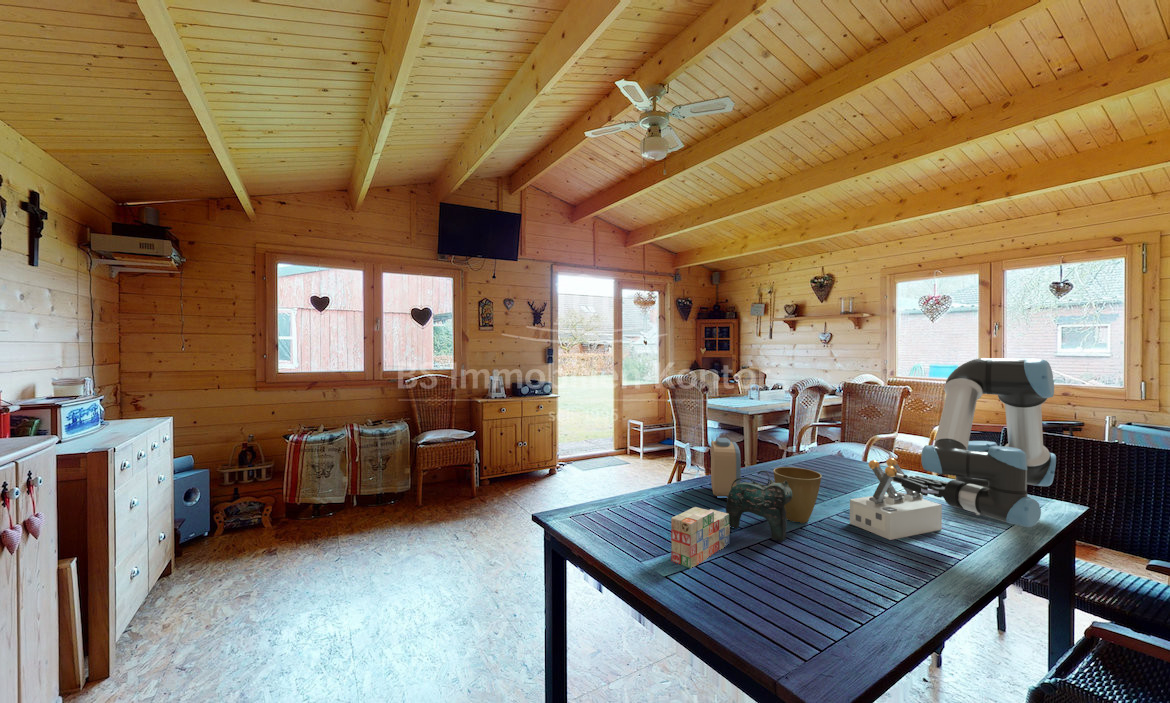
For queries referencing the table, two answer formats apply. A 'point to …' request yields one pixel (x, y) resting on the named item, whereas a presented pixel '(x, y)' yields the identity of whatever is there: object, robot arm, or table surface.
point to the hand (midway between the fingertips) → (887, 475)
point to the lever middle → (879, 474)
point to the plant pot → (799, 491)
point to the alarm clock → (724, 466)
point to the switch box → (896, 516)
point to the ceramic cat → (760, 504)
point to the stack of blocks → (698, 535)
